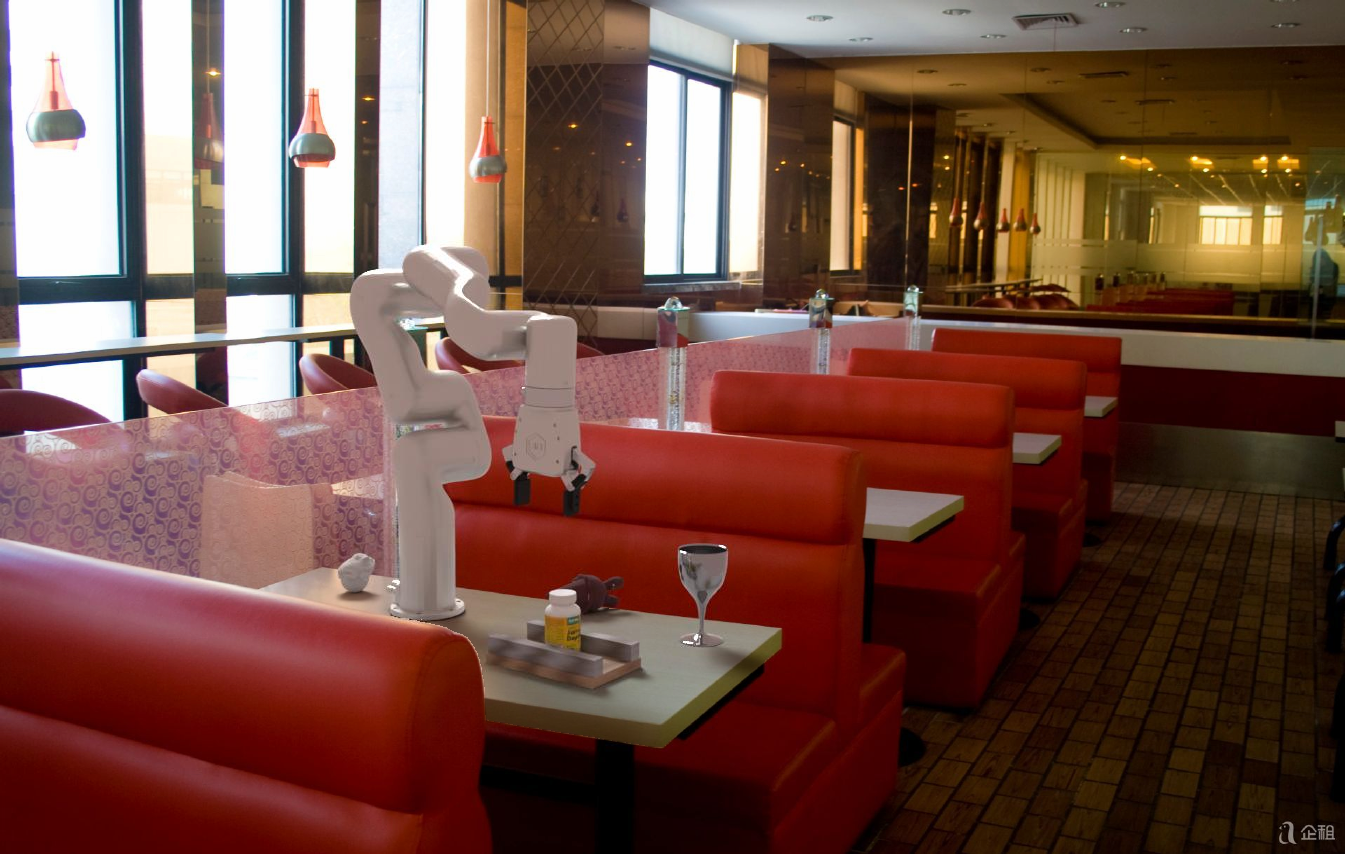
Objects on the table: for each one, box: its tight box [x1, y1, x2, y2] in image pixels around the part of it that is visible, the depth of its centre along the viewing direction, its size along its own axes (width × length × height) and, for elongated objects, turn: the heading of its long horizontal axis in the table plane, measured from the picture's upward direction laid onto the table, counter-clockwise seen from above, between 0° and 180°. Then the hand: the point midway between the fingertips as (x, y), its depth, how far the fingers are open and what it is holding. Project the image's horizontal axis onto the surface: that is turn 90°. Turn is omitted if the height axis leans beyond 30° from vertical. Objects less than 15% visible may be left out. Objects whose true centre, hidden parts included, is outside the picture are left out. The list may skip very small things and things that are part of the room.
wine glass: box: [677, 542, 729, 648], centre depth 192 cm, size 8×8×15 cm
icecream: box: [545, 573, 625, 615], centre depth 208 cm, size 7×7×15 cm
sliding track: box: [485, 619, 642, 690], centre depth 179 cm, size 20×12×4 cm, turn 57°
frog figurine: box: [337, 552, 376, 593], centre depth 219 cm, size 6×7×7 cm
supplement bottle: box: [544, 588, 582, 652], centre depth 179 cm, size 5×5×10 cm
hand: (546, 509), depth 182 cm, fingers open, 9 cm apart
